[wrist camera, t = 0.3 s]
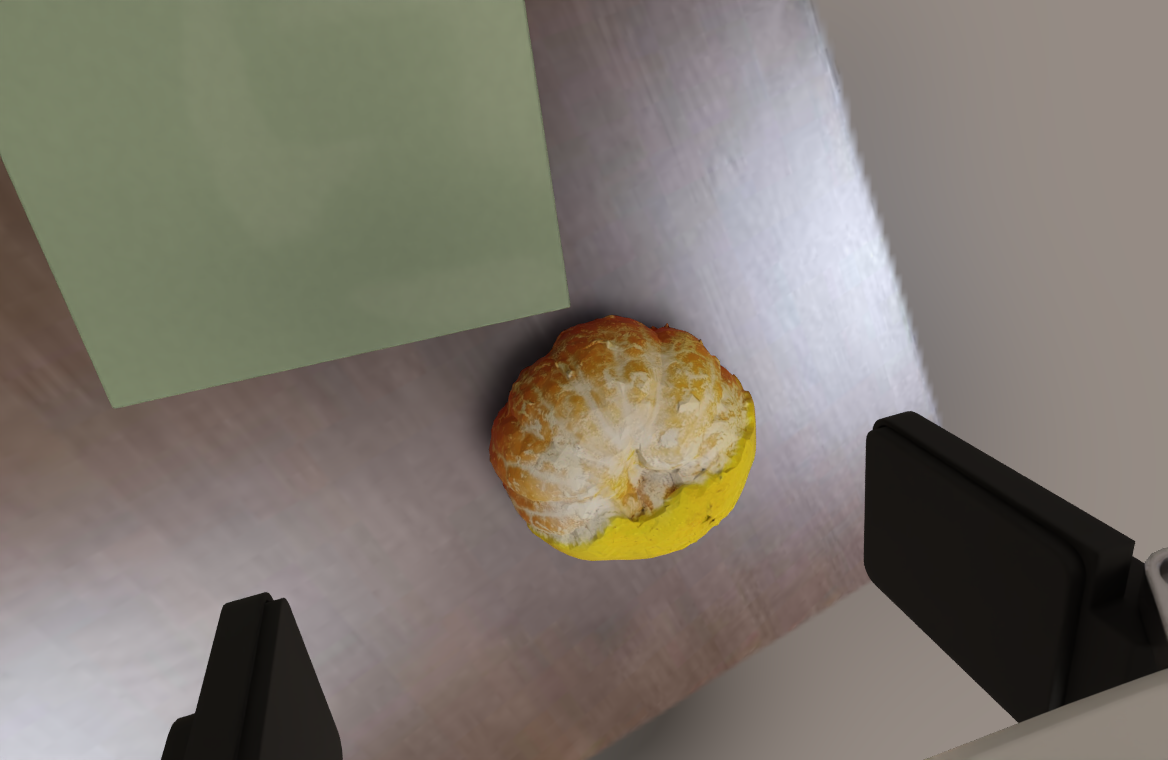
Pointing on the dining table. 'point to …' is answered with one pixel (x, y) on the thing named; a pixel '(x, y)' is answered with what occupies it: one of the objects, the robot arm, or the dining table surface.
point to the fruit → (624, 441)
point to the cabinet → (277, 178)
